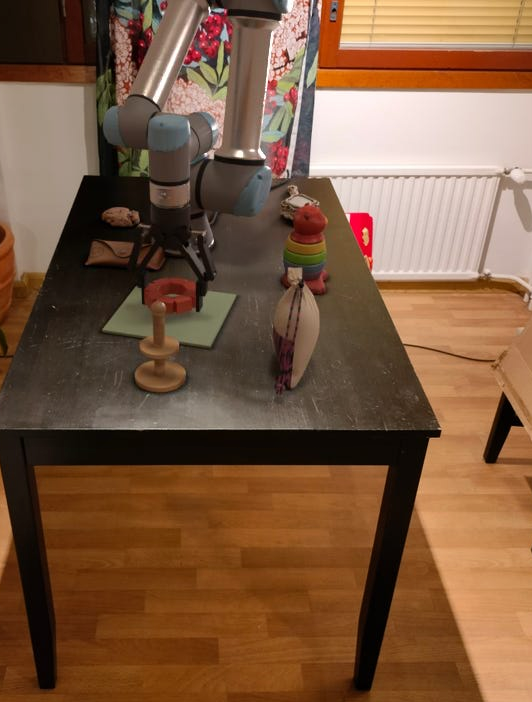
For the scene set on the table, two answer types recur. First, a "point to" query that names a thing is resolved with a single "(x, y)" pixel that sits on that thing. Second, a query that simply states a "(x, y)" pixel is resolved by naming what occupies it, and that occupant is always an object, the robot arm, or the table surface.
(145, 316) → the mat
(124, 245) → the sunglasses case
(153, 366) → the ring post
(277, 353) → the pouch
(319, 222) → the stacking bear
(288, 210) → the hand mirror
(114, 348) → the table surface
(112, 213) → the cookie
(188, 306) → the ring
